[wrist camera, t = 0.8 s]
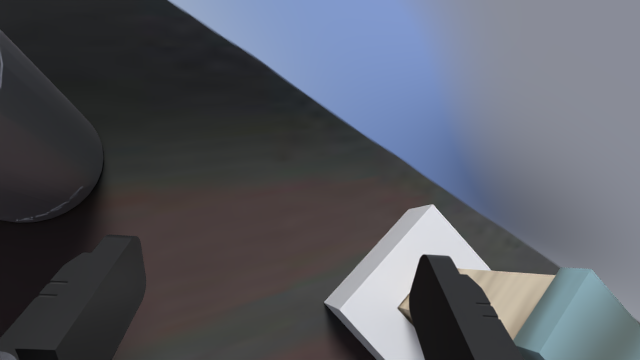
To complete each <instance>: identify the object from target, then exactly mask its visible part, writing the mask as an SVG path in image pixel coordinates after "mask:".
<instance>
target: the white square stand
mask: <svg viewBox="0 0 640 360" xmlns="http://www.w3.org/2000/svg"><path fill="white" fill-rule="evenodd" d="M423 254H428V255H445V256H450V257H451V258H452V260H453V262H454V264H455V266H456V267H457V268H460V269H473V270H487V271H491V270H490V268H489V267H488V266H487V265H486V264H485V263H484V262H483V261H482V259H481V258H480V257H479V256H478V255H477V254H476V253H475V251H474V250H473V249H472V248H471V247H470V246H469V245H468V244H467V242H466V241H465V240H464V239H463V238H462V237H461V236H460V235H459V233H458V232H457V231H456V230H455V229H454V228H453V227H452V225H451V224H450V223H449V222H448V221H447V220H446V219H445V218H444V216H443V215H442V214H441V213H440V212H439V211H438V210H437V209H436V207H435V206H434V205H433V204H432V205H427V206H422V207H417V208H413V209H409V210H408V211H407V212H406V213H405V214H404V215H403V216H402V217H401V218H400V219H399V221H398V222H397V223H396V224H395V225H394V226H393V227H392V228H391V229H390V230H389V231H388V233H387V234H386V235H385V236H384V237H383V238H382V239H381V240H380V241H379V242H378V244H377V245H376V246H375V247H374V248H373V249H372V250H371V251H370V252H369V253H368V255H367V256H366V257H365V258H364V259H363V260H362V261H361V262H360V263H359V264H358V265H357V267H356V268H355V269H354V270H353V271H352V272H351V273H350V274H349V275H348V276H347V278H346V279H345V280H344V281H343V282H342V283H341V284H340V285H339V286H338V287H337V288H336V290H335V291H334V292H333V293H332V294H331V295H330V296H329V297H328V298H327V299H326V301H325V302H324V303H325V304H326V305H327V306H328V307H329V309H330V310H331V311H332V312H333V313H334V314H335V315H336V316H337V317H338V318H339V319H340V320H341V322H342V323H343V324H344V325H345V326H346V327H347V328H348V329H349V330H350V331H351V332H352V334H353V335H354V336H355V337H356V338H357V339H358V340H359V341H360V342H361V343H362V344H363V345H364V347H365V348H366V349H367V350H368V351H369V352H370V353H371V354H372V355H373V356H374V357H375V358H376V360H425V358H424V355H423V352H422V349H421V346H420V343H419V340H418V337H417V333H416V330H415V327H414V326H413V325H412V324H411V323H410V322H409V321H408V320H407V319H406V318H405V316H404V315H403V314H402V313H401V312H400V311H399V310H398V309H397V307H398V306H399V305H400V304H401V303H402V301H403V300H404V299H405V298H406V296H407V295H408V294H409V293H410V290H411V287H412V283H413V280H414V276H415V273H416V269H417V266H418V263H419V259H420V257H421V256H422V255H423Z"/></svg>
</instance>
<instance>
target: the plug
mask: <svg viewBox="0 0 640 360" xmlns="http://www.w3.org/2000/svg"><path fill="white" fill-rule="evenodd" d="M457 269H458V271H459V273H460V274H467V275H468V276H469V277H470V278H472V279H473V280H474V281H475V282H476V283H477V284H478V285H479V286H480V287H481V288H482V289H483V291H484V293H485V294H486V296H487V298H488V299H489V301H490V303H491V306H493V308H494V309H495V311H496V313H497V315H498V319H500V320H501V321H502V323H503V325H504V326H505V328H506V330H507V331H508V333H509V335H510V337H511V338H512V340H513V342H514V343H515V345H516V347H517V348H518V350H519V352H520V353H521V355H522V357H523V359H524V360H640V325H639V324H638V323H637V321H636V320H635V319H634V318H633V317H632V316H631V314H630V313H629V312H628V311H627V310H626V309H625V308H624V307H623V305H622V304H621V303H620V302H619V301H618V299H617V298H616V297H615V296H614V295H613V294H612V293H611V291H610V290H609V289H608V288H607V287H606V286H605V284H604V283H603V282H602V281H601V280H600V279H599V278H598V276H597V275H596V274H595V273H594V272H593V271H592V269H580V268H560V270H559V271H558V273H557V274H556V276H555V275H542V274H528V273H514V272H501V271H487V270H473V269H460V268H457ZM409 294H410V293H409ZM409 294H408V295H407V296H406V298H405V299H404V300H403V301H402V303H401V304H400V305H399V306H398V307H397V309H398V310H399V311H400V312H401V313H402V314H403V315H404V316H405V318H406V319H407V320H408V321H409V322H410V323H411V324H412V325H413V326H414V324H413V321H412V318H411V315H410V310H409Z"/></svg>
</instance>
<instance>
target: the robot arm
mask: <svg viewBox="0 0 640 360" xmlns="http://www.w3.org/2000/svg"><path fill="white" fill-rule="evenodd" d="M103 159H104V158H103V148H102V144H101V141H100V138H99V136H98V134H97V132H96V131H95V129H94V127H93V126H92V124H91V123H90V122H89V121H88V120H87V119H86V118H85V117H84V116H83V115H82V114H81V113H80V112H79V111H78V110H77V109H76V108H75V107H74V106H73V104H72V103H71V102H70V101H69V100H68V99H67V98H66V97H65V96H64V95H63V94H62V93H61V92H60V91H59V90H58V89H57V88H56V87H55V86H54V85H53V84H52V83H51V81H50V80H49V79H48V78H47V77H46V76H45V75H44V74H43V73H42V72H41V71H40V70H39V69H38V68H37V67H36V66H35V65H34V64H33V63H32V62H31V61H30V60H29V59H28V58H27V57H26V56H25V55H24V54H23V53H22V52H21V50H20V49H19V48H18V47H17V46H16V45H15V44H14V43H13V42H12V41H11V40H10V39H9V38H8V37H7V36H6V35H5V34H4V33H3V32H2V31H1V30H0V220H3V221H11V222H18V223H25V222H38V221H43V220H47V219H52V218H54V217H57V216H59V215H61V214H64V213H66V212H68V211H69V210H71V209H72V208H74V207H75V206H77V205H79V204H80V203H81V202H82V201H83V200H84V199H85V198H86V197H87V196H88V195H89V194H90V192H91V191H92V189H93V188H94V187H95V185H96V184H97V182H98V179H99V177H100V174H101V172H102V166H103ZM145 288H146V275H145V269H144V262H143V256H142V249H141V243H140V239H139V238H138V237H137V236H122V235H106V236H105V237H104V238H103V239H102V240H101V242H100V243H99V244H98V245H97V247H96V248H95V249H94V250H93V252H92V253H85V252H83V253H82V254H80V255H78V256H77V257H75V258H74V259H72V260H71V261H69V262H68V263H66V264H65V265H63V266H62V268H61V269H60V270H59V271H58V272H57V273H56V274H55V276H54V277H53V278H52V279H51V280H50V284H47V285H46V286H45V287H44V288H43V289H42V291H41V292H40V293H39V296H38V297H36V298H35V299H34V300H33V301H32V302H31V303H30V304H29V306H28V307H27V308H26V309H25V310H24V311H23V313H22V314H21V315H20V316H19V317H18V318H17V319H16V321H15V322H14V323H13V324H12V325H11V326H10V328H9V329H8V330H7V331H6V332H5V333H4V334H3V336H2V337H1V338H0V360H112V358H113V356H114V354H115V352H116V350H117V348H118V346H119V344H120V342H121V340H122V339H123V337H124V335H125V333H126V331H127V329H128V327H129V325H130V323H131V321H132V319H133V317H134V315H135V313H136V311H137V310H138V308H139V306H140V304H141V302H142V299H143V297H144V293H145ZM409 310H410V315H411V318H412V321H413V324H414V327H415V330H416V333H417V337H418V340H419V343H420V346H421V349H422V352H423V355H424V358H425V360H524V359H523V357H522V355H521V353H520V352H519V350H518V348H517V347H516V345H515V343H514V342H513V340H512V338H511V337H510V335H509V333H508V331H507V330H506V328H505V326H504V325H503V323H502V321H501V320H500V319H498V315H497V313H496V311H495V309H494V308H493V306H491V303H490V301H489V299H488V298H487V296H486V294H485V293H484V291H483V289H482V288H481V287H480V286H479V285H478V284H477V283H476V282H475V281H474V280H473V279H472V278H470V277H469V276H468V275H467V274H460V273H459V271H458V269H457V267H456V266H455V264H454V262H453V260H452V258H451V257H450V256H445V255H428V254H423V255H422V256H421V257H420V259H419V263H418V266H417V269H416V273H415V276H414V280H413V283H412V287H411V290H410V294H409Z"/></svg>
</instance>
